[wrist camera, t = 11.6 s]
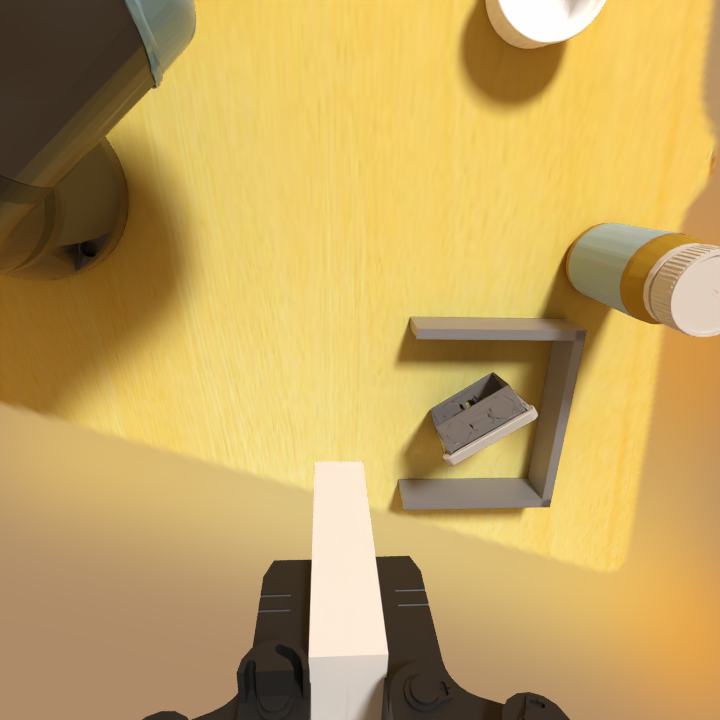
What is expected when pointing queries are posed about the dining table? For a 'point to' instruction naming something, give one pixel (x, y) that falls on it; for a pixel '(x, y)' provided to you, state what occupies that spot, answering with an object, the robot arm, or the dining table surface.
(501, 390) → the electrical switch
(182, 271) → the dining table surface
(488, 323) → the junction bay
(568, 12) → the ramekin
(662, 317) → the bottle
